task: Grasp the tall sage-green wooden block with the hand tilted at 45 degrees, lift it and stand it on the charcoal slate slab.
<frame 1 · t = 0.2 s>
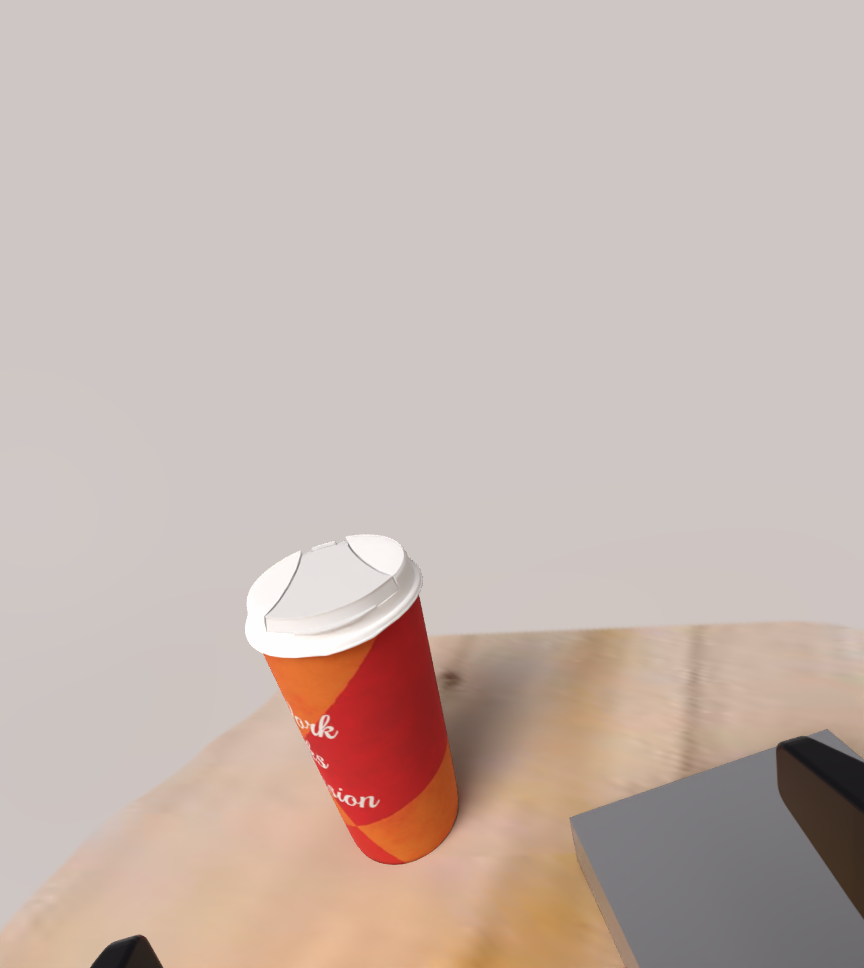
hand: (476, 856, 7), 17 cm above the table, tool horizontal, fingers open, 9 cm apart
paper cup: (406, 814, 27), on the table
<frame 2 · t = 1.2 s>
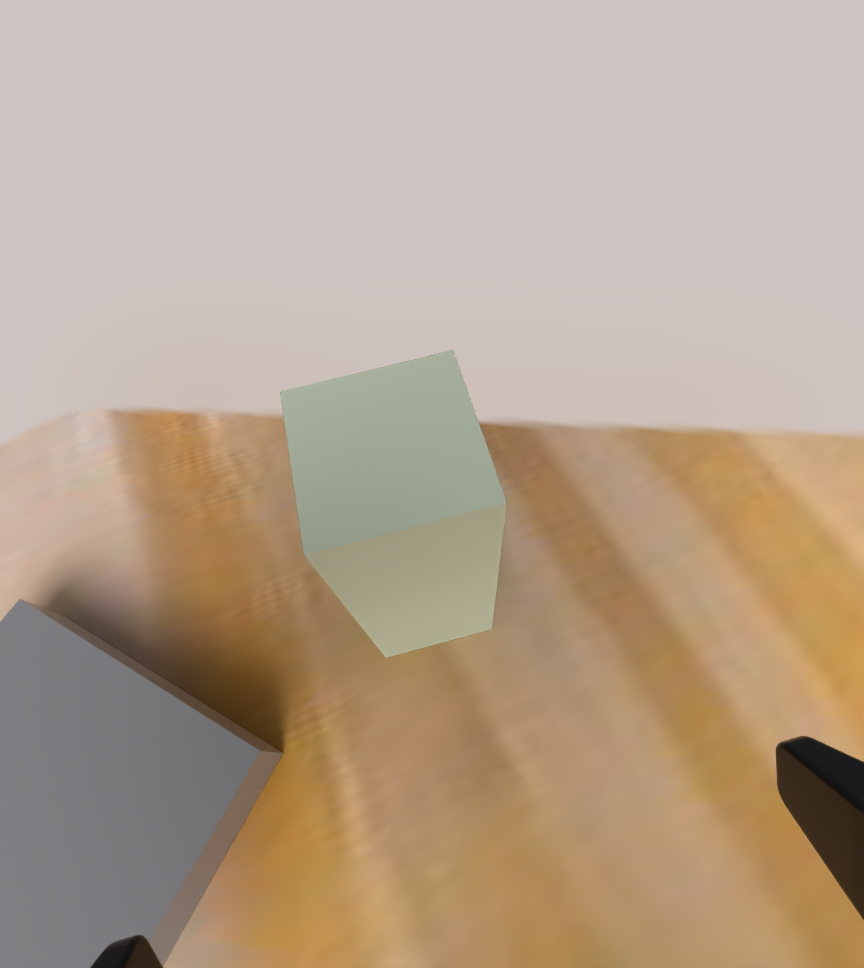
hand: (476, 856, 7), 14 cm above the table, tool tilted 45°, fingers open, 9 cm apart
slate slab: (59, 831, 20), on the table
sage block: (426, 591, 23), on the table
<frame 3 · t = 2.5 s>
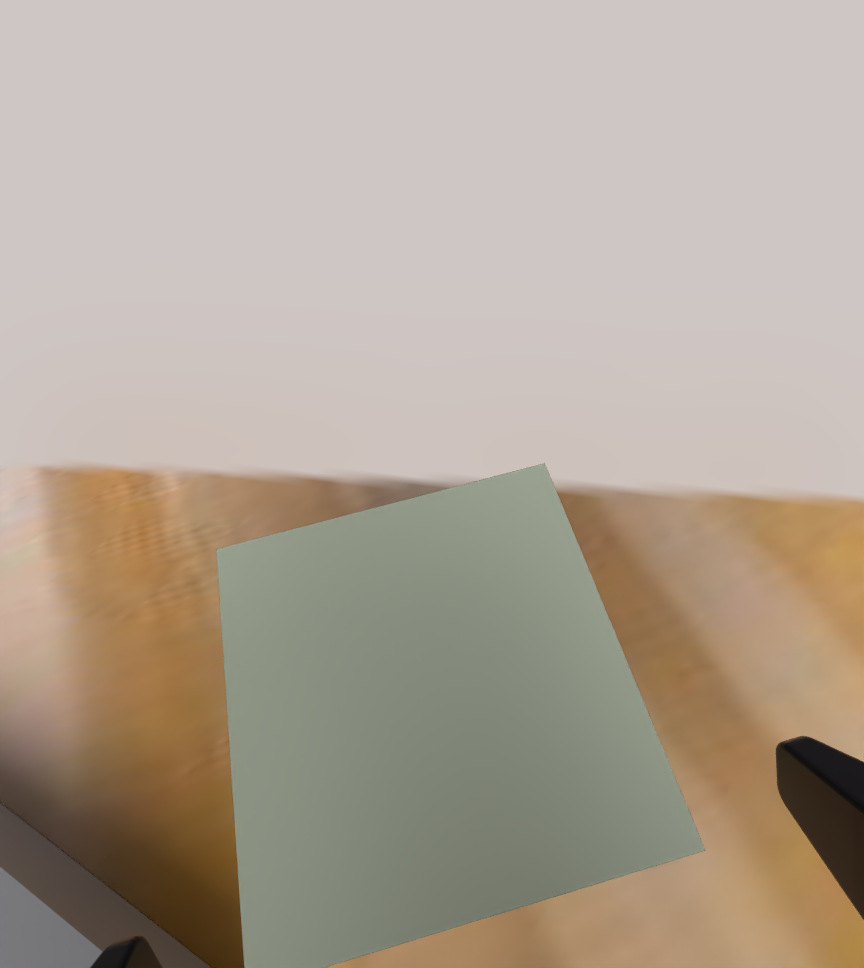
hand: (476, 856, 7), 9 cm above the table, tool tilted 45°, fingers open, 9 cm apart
sage block: (456, 736, 17), on the table
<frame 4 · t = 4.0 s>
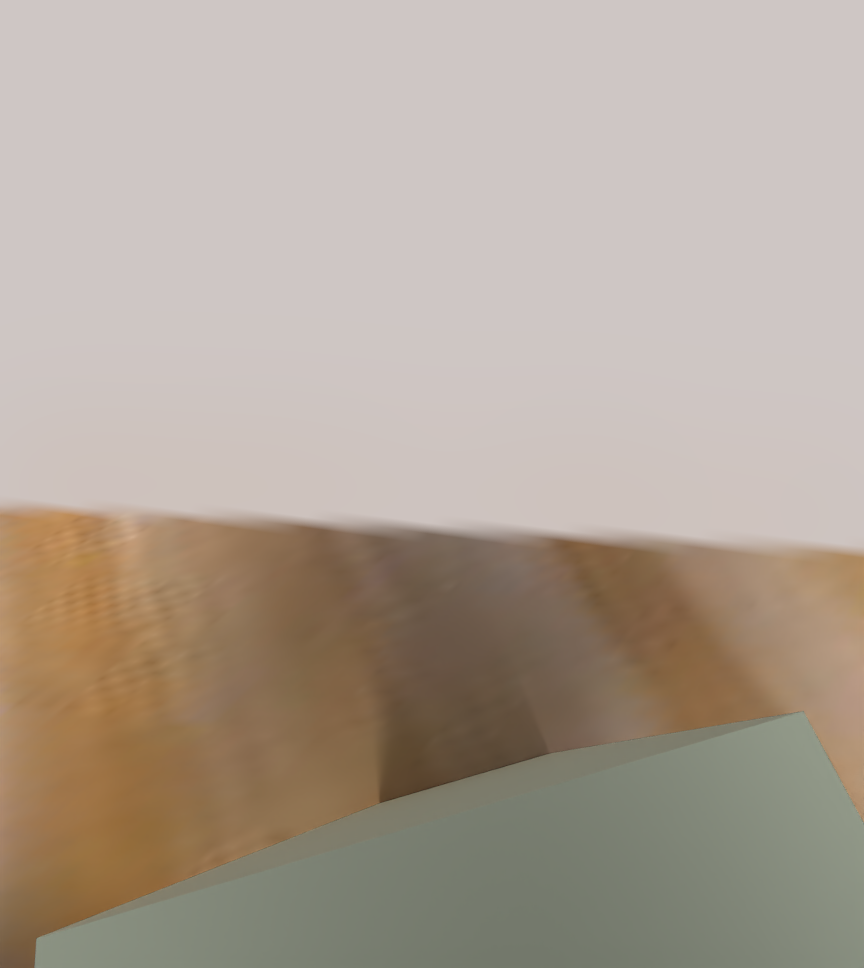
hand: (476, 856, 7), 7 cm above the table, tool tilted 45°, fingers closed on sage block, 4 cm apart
sage block: (492, 884, 13), on the table, touching gripper
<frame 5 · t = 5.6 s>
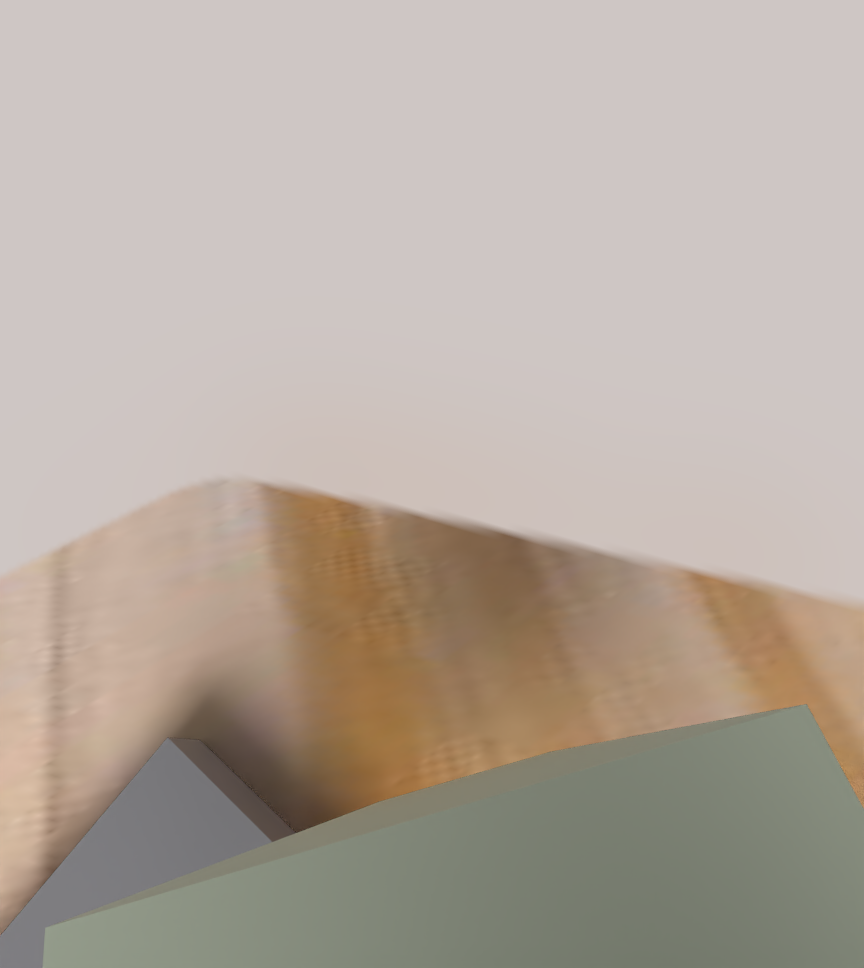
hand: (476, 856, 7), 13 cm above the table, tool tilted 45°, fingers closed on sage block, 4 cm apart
sage block: (493, 882, 13), point 7 cm above the table, touching gripper
when the fingers open (10 cm above the table, at t = 7.2 s): sage block drops 1 cm, resting on slate slab.
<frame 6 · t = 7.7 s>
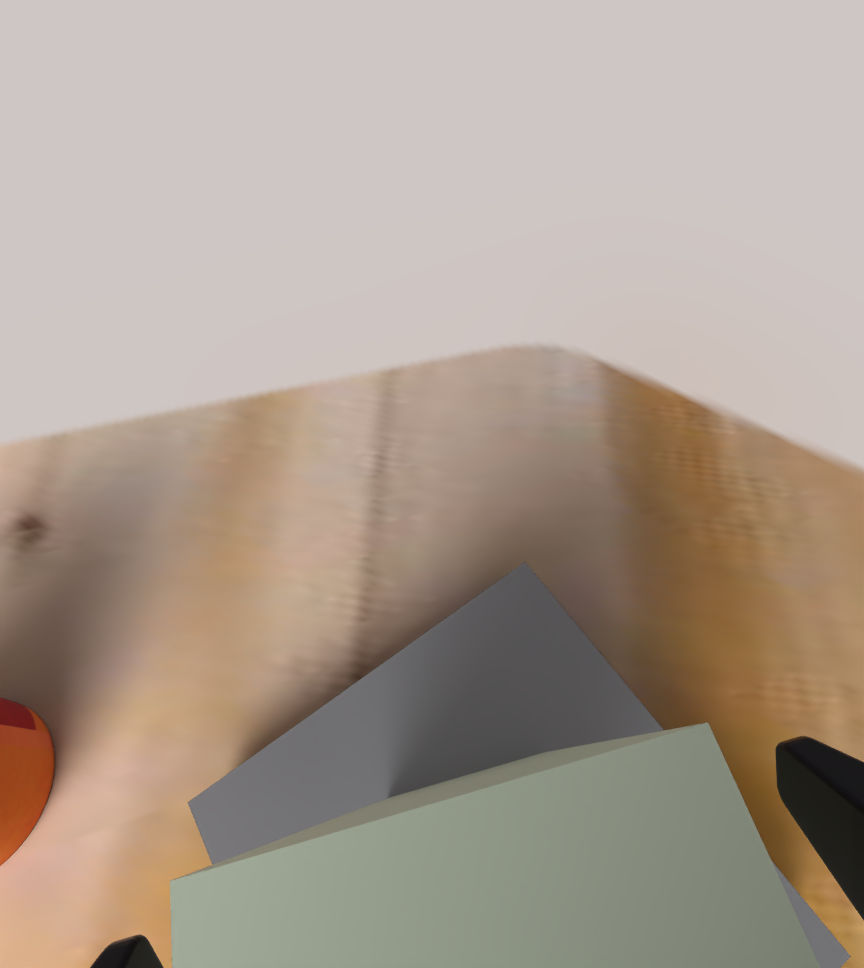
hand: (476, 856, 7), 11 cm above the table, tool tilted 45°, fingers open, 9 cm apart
slate slab: (488, 858, 16), on the table
sage block: (490, 871, 14), point 2 cm above the table, touching slate slab
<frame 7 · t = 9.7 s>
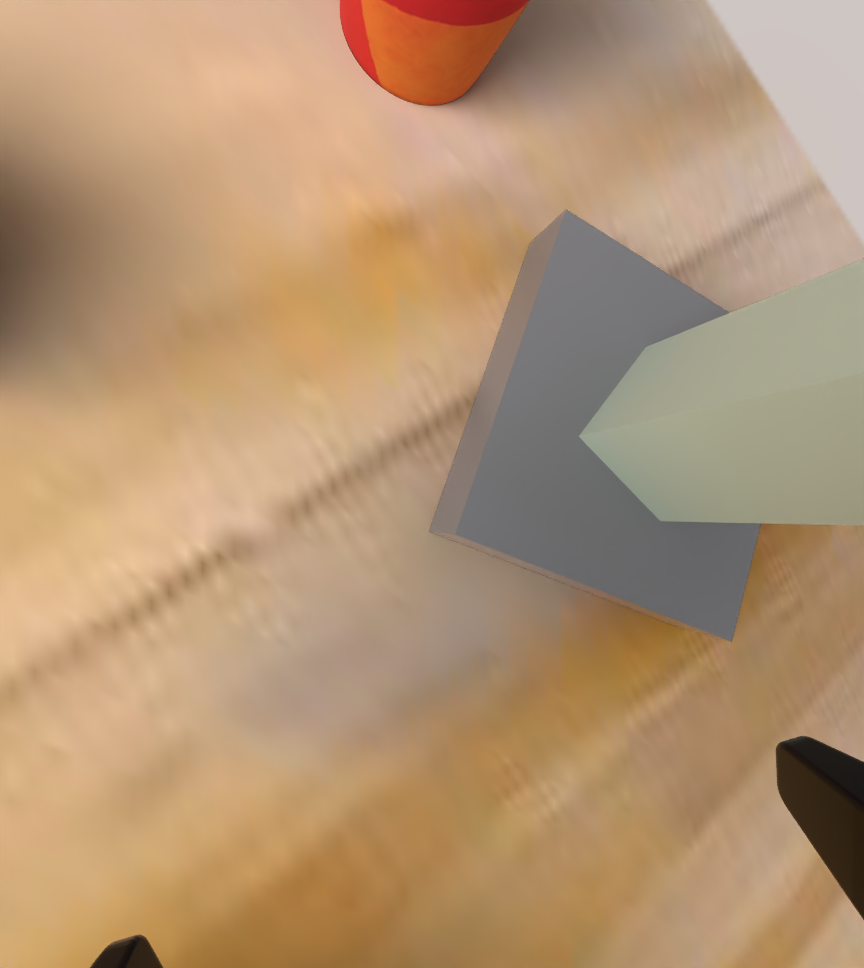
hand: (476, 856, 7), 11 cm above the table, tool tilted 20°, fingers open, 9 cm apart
paper cup: (411, 37, 20), on the table
slate slab: (608, 442, 22), on the table
sage block: (653, 433, 20), point 2 cm above the table, touching slate slab
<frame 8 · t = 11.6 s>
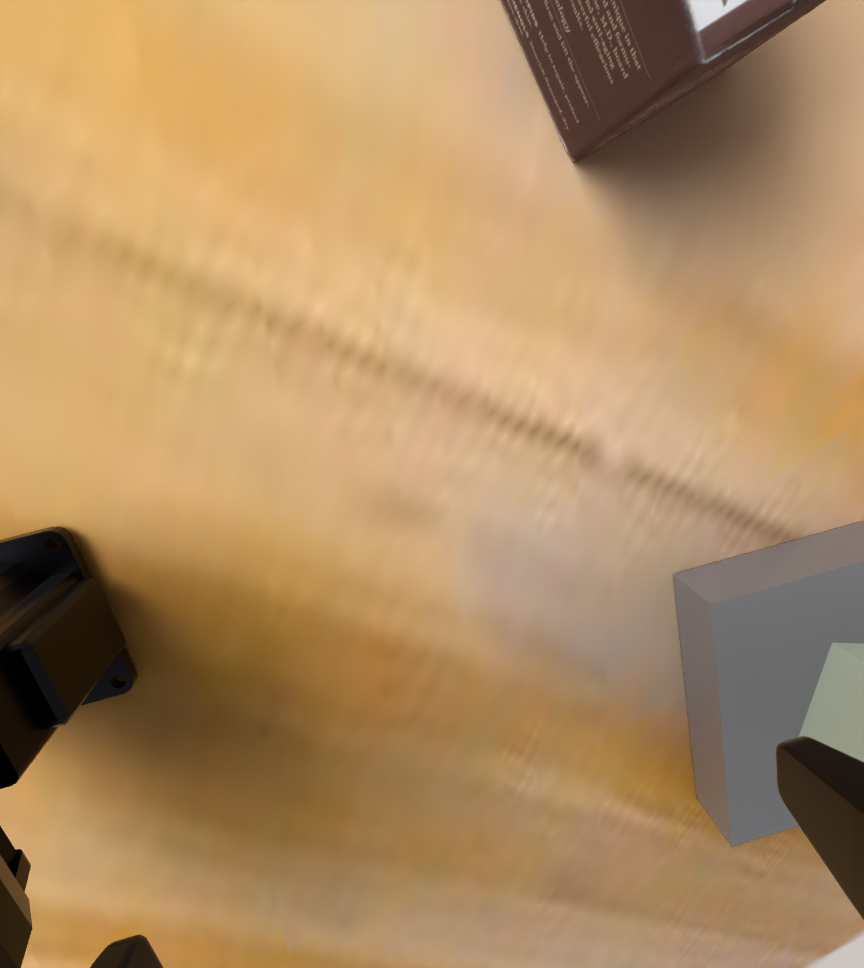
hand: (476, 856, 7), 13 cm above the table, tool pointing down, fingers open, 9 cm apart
slate slab: (813, 657, 24), on the table
sage block: (863, 694, 22), point 2 cm above the table, touching slate slab
box: (609, 20, 16), on the table
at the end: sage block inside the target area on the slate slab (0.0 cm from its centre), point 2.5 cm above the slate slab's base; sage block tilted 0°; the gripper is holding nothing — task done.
